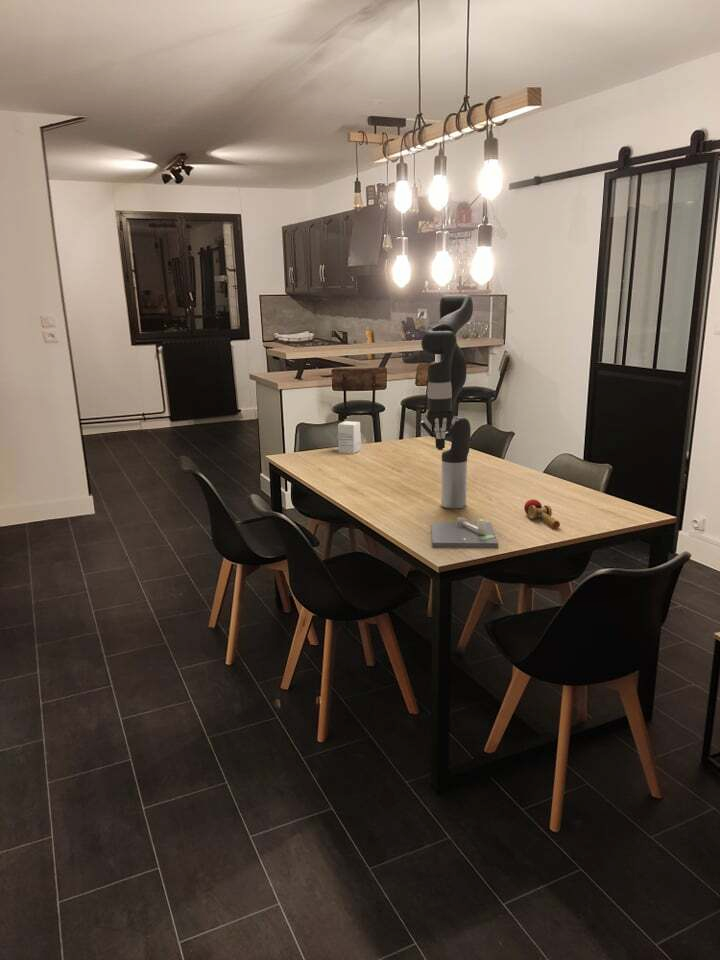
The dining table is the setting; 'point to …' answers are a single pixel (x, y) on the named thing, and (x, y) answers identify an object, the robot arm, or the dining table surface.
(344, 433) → the supplement box
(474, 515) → the dining table surface
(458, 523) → the pale grey bar
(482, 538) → the dial plate
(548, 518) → the kendama
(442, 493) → the robot arm
